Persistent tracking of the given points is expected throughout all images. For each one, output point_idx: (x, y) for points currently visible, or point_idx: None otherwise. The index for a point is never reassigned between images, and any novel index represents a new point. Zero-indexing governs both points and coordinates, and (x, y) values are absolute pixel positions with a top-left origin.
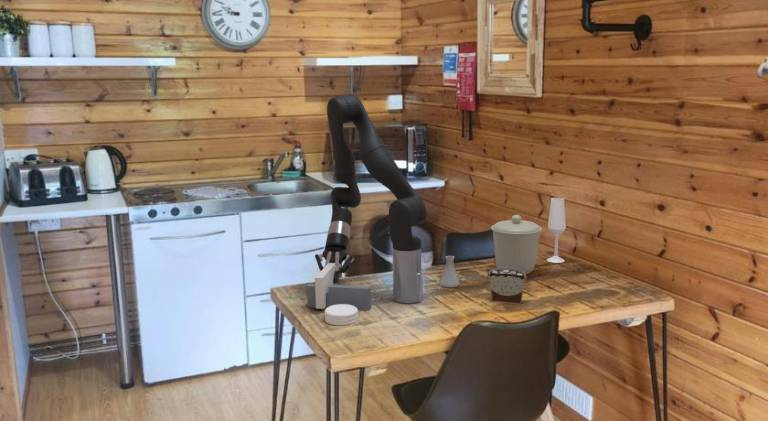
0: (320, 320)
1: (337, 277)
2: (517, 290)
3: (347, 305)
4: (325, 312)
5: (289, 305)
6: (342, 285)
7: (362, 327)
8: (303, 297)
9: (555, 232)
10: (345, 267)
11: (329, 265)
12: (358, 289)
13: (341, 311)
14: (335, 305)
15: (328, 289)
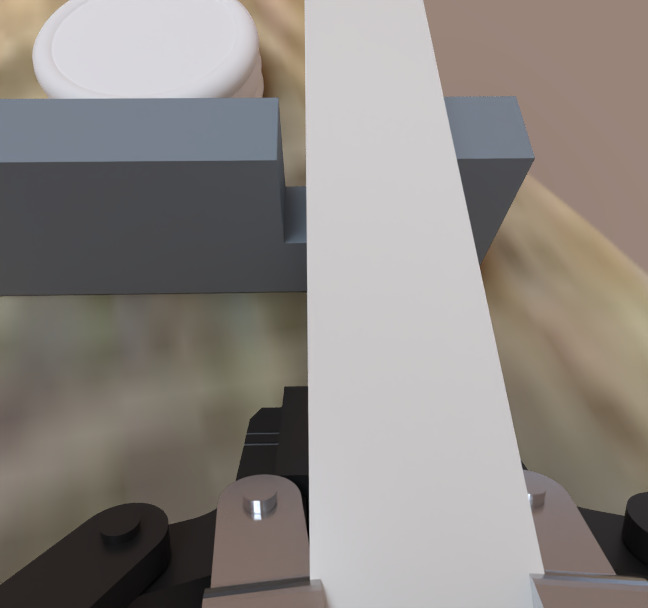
0: (286, 73)
1: (250, 435)
2: None
3: (107, 94)
4: (242, 5)
5: (612, 255)
6: (128, 151)
7: (35, 29)
8: (625, 461)
9: None
10: (44, 570)
11: (415, 361)
12: None
13: (139, 14)
14: (196, 81)
15: (279, 120)
